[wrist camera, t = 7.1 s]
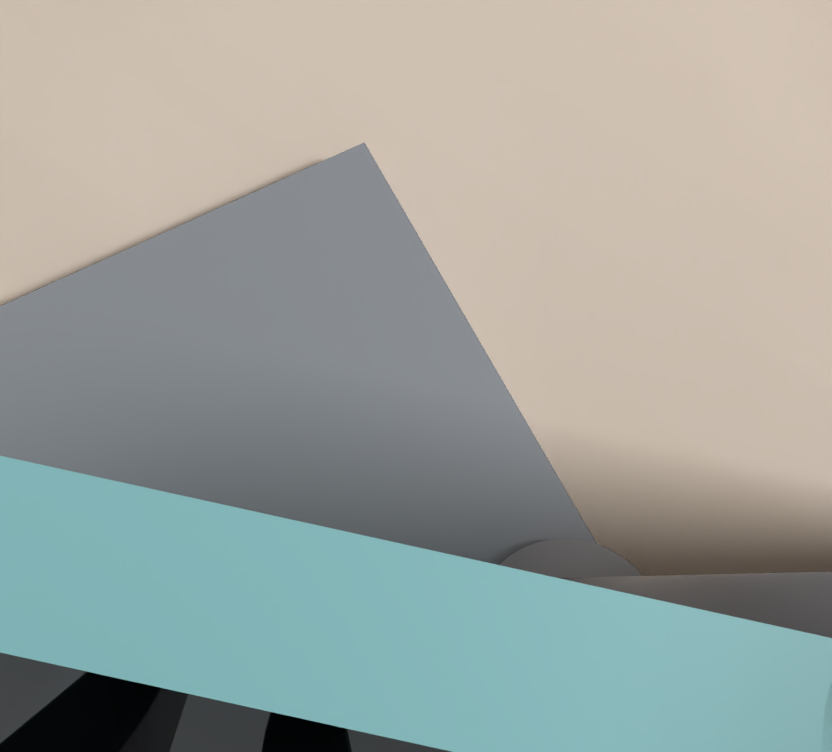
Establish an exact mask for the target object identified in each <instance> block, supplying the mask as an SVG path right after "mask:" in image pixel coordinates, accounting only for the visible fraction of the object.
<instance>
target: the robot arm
mask: <svg viewBox="0 0 832 752" xmlns="http://www.w3.org/2000/svg"><path fill="white" fill-rule="evenodd" d="M187 696H188V694H187V693H182V692H178V691H173V690H169V689H164V688H160V687H155V686H151V685H146V684H142V683H137V682H132V681H128V680H123V679H119V678H114V677H110V676H105V675H101V674H96V673H91V672H85V673H84V674H83V675H82V676H81V677H79V678H78V679H77V680H76V681H75V682H73V683H72V684H71V685H70V686H68V687H67V688H66V689H65V690H64V691H62V692H61V693H60V694H59V695H58V696H56V697H55V698H54V699H53V700H52V701H50V702H49V703H48V704H47V705H46V706H44V707H43V708H42V709H41V710H40V711H38V712H37V713H36V714H35V715H34V716H32V717H31V718H30V719H29V720H28V721H26V722H25V723H24V724H23V725H21V726H20V727H19V728H18V729H17V730H15V731H14V732H13V733H12V734H11V735H9V736H8V737H7V738H6V739H5V740H3V741H2V742H1V743H0V752H170V749H171V745H172V742H173V739H174V736H175V733H176V730H177V727H178V724H179V721H180V718H181V715H182V712H183V709H184V706H185V703H186V699H187ZM262 752H352V749H351V744H350V739H349V734H348V729H346V728H342V727H337V726H333V725H328V724H324V723H319V722H315V721H310V720H305V719H301V718H296V717H292V716H287V715H283V714H278V713H274V712H270V714H269V718H268V722H267V726H266V729H265V734H264V740H263V746H262Z"/></svg>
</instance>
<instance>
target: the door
mask: <svg viewBox="0 0 832 752" xmlns="http://www.w3.org/2000/svg"><path fill="white" fill-rule="evenodd" d="M0 653H5V654H9V655H14V656H19V657H23V658H28V659H32V660H37V661H41V662H46V663H50V664H55V665H60V666H64V667H69V668H73V669H78V670H82V671H87V672H91V673H96V674H101V675H105V676H110V677H114V678H119V679H123V680H128V681H132V682H137V683H142V684H146V685H151V686H155V687H160V688H164V689H169V690H173V691H178V692H182V693H187V694H192V695H196V696H201V697H205V698H210V699H214V700H219V701H223V702H228V703H233V704H237V705H242V706H246V707H251V708H255V709H260V710H264V711H269V712H274V713H278V714H283V715H287V716H292V717H296V718H301V719H305V720H310V721H315V722H319V723H324V724H328V725H333V726H337V727H342V728H346V729H351V730H356V731H360V732H365V733H369V734H374V735H378V736H383V737H387V738H392V739H397V740H401V741H406V742H410V743H415V744H419V745H424V746H428V747H433V748H437V749H442V750H447V751H451V752H832V571H828V572H786V573H744V574H701V575H659V576H617V577H574V578H555V577H551V576H546V575H542V574H537V573H533V572H528V571H524V570H519V569H514V568H510V567H505V566H501V565H496V564H492V563H487V562H482V561H478V560H473V559H469V558H464V557H460V556H455V555H451V554H446V553H441V552H437V551H432V550H428V549H423V548H419V547H414V546H410V545H405V544H400V543H396V542H391V541H387V540H382V539H378V538H373V537H369V536H364V535H359V534H355V533H350V532H346V531H341V530H337V529H332V528H328V527H323V526H318V525H314V524H309V523H305V522H300V521H296V520H291V519H287V518H282V517H277V516H273V515H268V514H264V513H259V512H255V511H250V510H246V509H241V508H236V507H232V506H227V505H223V504H218V503H214V502H209V501H205V500H200V499H195V498H191V497H186V496H182V495H177V494H173V493H168V492H164V491H159V490H154V489H150V488H145V487H141V486H136V485H132V484H127V483H123V482H118V481H113V480H109V479H104V478H100V477H95V476H91V475H86V474H82V473H77V472H72V471H68V470H63V469H59V468H54V467H50V466H45V465H41V464H36V463H31V462H27V461H22V460H18V459H13V458H9V457H4V456H0Z"/></svg>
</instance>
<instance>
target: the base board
mask: <svg viewBox="0 0 832 752" xmlns="http://www.w3.org/2000/svg"><path fill="white" fill-rule="evenodd" d="M0 456H4V457H9V458H13V459H18V460H22V461H27V462H31V463H36V464H41V465H45V466H50V467H54V468H59V469H63V470H68V471H72V472H77V473H82V474H86V475H91V476H95V477H100V478H104V479H109V480H113V481H118V482H123V483H127V484H132V485H136V486H141V487H145V488H150V489H154V490H159V491H164V492H168V493H173V494H177V495H182V496H186V497H191V498H195V499H200V500H205V501H209V502H214V503H218V504H223V505H227V506H232V507H236V508H241V509H246V510H250V511H255V512H259V513H264V514H268V515H273V516H277V517H282V518H287V519H291V520H296V521H300V522H305V523H309V524H314V525H318V526H323V527H328V528H332V529H337V530H341V531H346V532H350V533H355V534H359V535H364V536H369V537H373V538H378V539H382V540H387V541H391V542H396V543H400V544H405V545H410V546H414V547H419V548H423V549H428V550H432V551H437V552H441V553H446V554H451V555H455V556H460V557H464V558H469V559H473V560H478V561H482V562H487V563H492V564H496V565H501V566H505V567H510V568H514V569H519V570H524V571H528V572H533V573H537V574H542V575H546V576H551V577H555V578H574V577H617V576H643V575H642V574H641V573H640V572H639V571H638V570H637V569H636V568H635V567H634V566H633V565H632V564H631V563H630V562H629V561H627V560H626V559H624V558H623V557H622V556H620V555H619V554H617V553H616V552H614V551H612V550H610V549H608V548H606V547H604V546H601V545H599V544H597V543H596V541H595V540H594V538H593V536H592V535H591V533H590V531H589V529H588V528H587V526H586V524H585V522H584V521H583V519H582V517H581V516H580V514H579V512H578V510H577V509H576V507H575V505H574V503H573V502H572V500H571V498H570V497H569V495H568V493H567V491H566V490H565V488H564V486H563V484H562V483H561V481H560V479H559V478H558V476H557V474H556V472H555V471H554V469H553V467H552V465H551V464H550V462H549V460H548V459H547V457H546V455H545V453H544V452H543V450H542V448H541V447H540V445H539V443H538V441H537V440H536V438H535V436H534V434H533V433H532V431H531V429H530V428H529V426H528V424H527V422H526V421H525V419H524V417H523V415H522V414H521V412H520V410H519V409H518V407H517V405H516V403H515V402H514V400H513V398H512V396H511V395H510V393H509V391H508V390H507V388H506V386H505V384H504V383H503V381H502V379H501V377H500V376H499V374H498V372H497V371H496V369H495V367H494V365H493V364H492V362H491V360H490V358H489V357H488V355H487V353H486V352H485V350H484V348H483V346H482V345H481V343H480V341H479V339H478V338H477V336H476V334H475V333H474V331H473V329H472V327H471V326H470V324H469V322H468V320H467V319H466V317H465V315H464V314H463V312H462V310H461V308H460V307H459V305H458V303H457V302H456V300H455V298H454V296H453V295H452V293H451V291H450V289H449V288H448V286H447V284H446V283H445V281H444V279H443V277H442V276H441V274H440V272H439V270H438V269H437V267H436V265H435V264H434V262H433V260H432V258H431V257H430V255H429V253H428V251H427V250H426V248H425V246H424V245H423V243H422V241H421V239H420V238H419V236H418V234H417V232H416V231H415V229H414V227H413V226H412V224H411V222H410V220H409V219H408V217H407V215H406V213H405V212H404V210H403V208H402V207H401V205H400V203H399V201H398V200H397V198H396V196H395V194H394V193H393V191H392V189H391V188H390V186H389V184H388V182H387V181H386V179H385V177H384V175H383V174H382V172H381V170H380V169H379V167H378V165H377V163H376V162H375V160H374V158H373V157H372V155H371V153H370V151H369V150H368V148H367V146H366V144H365V143H362V144H360V145H358V146H355V147H353V148H351V149H349V150H346V151H344V152H342V153H340V154H338V155H335V156H333V157H331V158H329V159H326V160H324V161H322V162H320V163H318V164H315V165H313V166H311V167H309V168H306V169H304V170H302V171H300V172H298V173H295V174H293V175H291V176H289V177H286V178H284V179H282V180H280V181H278V182H275V183H273V184H271V185H269V186H267V187H264V188H262V189H260V190H258V191H255V192H253V193H251V194H249V195H247V196H244V197H242V198H240V199H238V200H235V201H233V202H231V203H229V204H227V205H224V206H222V207H220V208H218V209H215V210H213V211H211V212H209V213H207V214H204V215H202V216H200V217H198V218H195V219H193V220H191V221H189V222H187V223H184V224H182V225H180V226H178V227H175V228H173V229H171V230H169V231H167V232H164V233H162V234H160V235H158V236H155V237H153V238H151V239H149V240H147V241H144V242H142V243H140V244H138V245H135V246H133V247H131V248H129V249H127V250H124V251H122V252H120V253H118V254H115V255H113V256H111V257H109V258H107V259H104V260H102V261H100V262H98V263H95V264H93V265H91V266H89V267H87V268H84V269H82V270H80V271H78V272H75V273H73V274H71V275H69V276H67V277H64V278H62V279H60V280H58V281H55V282H53V283H51V284H49V285H47V286H44V287H42V288H40V289H38V290H35V291H33V292H31V293H29V294H27V295H24V296H22V297H20V298H18V299H16V300H13V301H11V302H9V303H7V304H4V305H2V306H0ZM85 672H87V671H82V670H78V669H73V668H69V667H64V666H60V665H55V664H50V663H46V662H41V661H37V660H32V659H28V658H23V657H19V656H14V655H9V654H5V653H0V743H1V742H2V741H3V740H5V739H6V738H7V737H8V736H9V735H11V734H12V733H13V732H14V731H15V730H17V729H18V728H19V727H20V726H21V725H23V724H24V723H25V722H26V721H28V720H29V719H30V718H31V717H32V716H34V715H35V714H36V713H37V712H38V711H40V710H41V709H42V708H43V707H44V706H46V705H47V704H48V703H49V702H50V701H52V700H53V699H54V698H55V697H56V696H58V695H59V694H60V693H61V692H62V691H64V690H65V689H66V688H67V687H68V686H70V685H71V684H72V683H73V682H75V681H76V680H77V679H78V678H79V677H81V676H82V675H83V674H84V673H85ZM269 714H270V712H269V711H264V710H260V709H255V708H251V707H246V706H242V705H237V704H233V703H228V702H223V701H219V700H214V699H210V698H205V697H201V696H196V695H192V694H188V696H187V699H186V703H185V706H184V709H183V712H182V715H181V718H180V721H179V724H178V727H177V730H176V733H175V736H174V739H173V742H172V745H171V749H170V752H262V746H263V740H264V734H265V729H266V726H267V722H268V718H269ZM348 734H349V739H350V744H351V749H352V752H451V751H447V750H442V749H437V748H433V747H428V746H424V745H419V744H415V743H410V742H406V741H401V740H397V739H392V738H387V737H383V736H378V735H374V734H369V733H365V732H360V731H356V730H351V729H348Z"/></svg>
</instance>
